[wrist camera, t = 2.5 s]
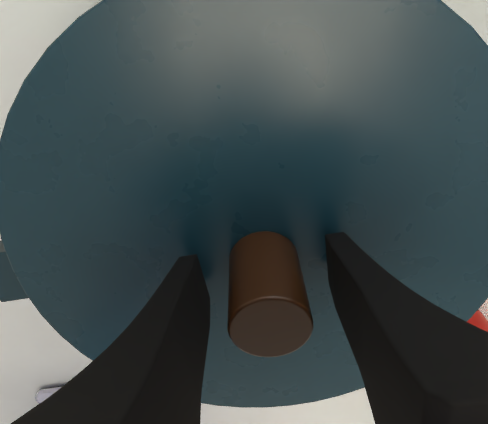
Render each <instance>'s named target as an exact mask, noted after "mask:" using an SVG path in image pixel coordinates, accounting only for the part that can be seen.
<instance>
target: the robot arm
mask: <svg viewBox="0 0 488 424" xmlns="http://www.w3.org/2000/svg"><path fill="white" fill-rule="evenodd" d="M325 244H326V257H327V270H328V282H329V286H330V290H331V294H332V298H333V301H334V305H335V309H336V311H337V314H338V316H339V319H340V321H341V324H342V327H343V329H344V332H345V334H346V337H347V339H348V342H349V344H350V347H351V349H352V352H353V355H354V357H355V360H356V362H357V365H358V367H359V370H360V373H361V376H362V379H363V382H364V385H365V389H366V392H367V396H368V399H369V403H370V406H371V410H372V413H373V417H374V420H375V424H488V332H487V331H485V330H482V329H480V328H478V327H476V326H474V325H472V324H470V323H468V322H466V321H464V320H462V319H460V318H458V317H456V316H455V315H453V314H451V313H449V312H447V311H445V310H443V309H442V308H440V307H438V306H436V305H435V304H433V303H431V302H430V301H428V300H426V299H425V298H423V297H422V296H420V295H419V294H417V293H416V292H414V291H413V290H411V289H410V288H408V287H407V286H406V285H404V284H403V283H402V282H400V281H399V280H398V279H396V278H395V277H394V276H392V275H391V274H390V273H389V272H387V271H386V270H385V269H384V268H383V267H381V266H380V265H379V264H378V263H377V262H375V261H374V260H373V259H372V258H371V257H370V256H369V255H368V254H366V253H365V252H364V251H363V250H362V249H361V248H360V247H359V246H358V245H357V244H356V243H355V242H354V241H353V240H352V239H351V238H350V237H349V236H348V235H347V234H346V233H344V232H339V233H332V234H325ZM209 330H210V296H209V292H208V289H207V286H206V282H205V279H204V276H203V272H202V269H201V266H200V262H199V259H198V256H197V254H194V255H187V256H181V257H179V258H178V259H177V261H176V262H175V264H174V265H173V267H172V268H171V270H170V271H169V273H168V274H167V275H166V277H165V278H164V280H163V281H162V283H161V284H160V286H159V287H158V288H157V290H156V291H155V293H154V294H153V295H152V297H151V298H150V299H149V301H148V302H147V303H146V305H145V306H144V307H143V308H142V310H141V311H140V312H139V313H138V315H137V316H136V317H135V318H134V320H133V321H132V322H131V323H130V324H129V326H128V327H127V328H126V329H125V330H124V331H123V332H122V333H121V334H120V335H119V336H118V337H117V338H116V339H115V340H114V342H113V343H112V344H111V345H110V346H109V347H108V348H107V349H105V350H104V351H103V352H102V353H101V354H100V355H99V356H98V357H97V358H96V359H94V360H93V361H92V362H91V363H90V364H89V365H88V366H87V367H86V368H85V369H84V370H82V371H81V372H80V373H79V374H78V375H76V376H75V377H74V378H73V379H71V380H70V381H69V382H68V383H67V384H65V385H64V386H63V387H56V388H48V389H42V390H39V391H38V392H37V394H36V396H35V398H36V400H37V402H38V403H39V405H37V406H36V407H34V408H33V409H31V410H30V411H28V412H27V413H26V414H24V415H23V416H21V417H20V418H18V419H17V420H15V421H14V422H12V423H11V424H200V411H201V393H202V384H203V376H204V369H205V361H206V354H207V346H208V338H209Z"/></svg>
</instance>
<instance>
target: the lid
mask: <svg viewBox="0 0 488 424" xmlns="http://www.w3.org/2000/svg"><path fill="white" fill-rule="evenodd" d="M339 232H344V233H346V234H347V235H348V236H349V237H350V238H351V239H352V240H353V241H354V242H355V243H356V244H357V245H358V246H359V247H360V248H361V249H362V250H363V251H364V252H365V253H366V254H368V255H369V256H370V257H371V258H372V259H373V260H374V261H375V262H377V263H378V264H379V265H380V266H381V267H383V268H384V269H385V270H386V271H387V272H389V273H390V274H391V275H392V276H394V277H395V278H396V279H398V280H399V281H400V282H402V283H403V284H404V285H406V286H407V287H408V288H410V289H411V290H413V291H414V292H416V293H417V294H419V295H420V296H422V297H423V298H425V299H426V300H428V301H430V302H431V303H433V304H435V305H436V306H438V307H440V308H442V309H443V310H445V311H447V312H449V313H451V314H453V315H455V316H456V317H458V318H460V319H462V320H464V321H466V322H467V321H468V320H469V319H470V318H471V317H472V316H473V315H474V314H475V312H476V311H477V310H478V309H479V308H480V307H481V305H482V304H483V303H484V302H485V301H486V299H487V298H488V45H487V44H486V43H485V42H484V41H483V39H482V38H481V37H480V36H479V34H478V33H477V32H476V31H475V30H474V28H473V27H472V26H471V25H469V24H468V23H467V22H466V21H465V20H464V19H462V18H461V17H460V16H459V15H458V14H456V13H455V12H454V11H453V10H452V9H451V8H449V7H448V6H447V5H446V4H445V3H444V2H442V1H441V0H102V1H101V2H99V3H98V4H96V5H95V6H94V7H92V8H91V9H89V10H88V11H87V12H85V13H84V14H82V15H81V16H79V17H78V18H77V19H76V20H75V21H74V22H73V23H72V24H71V25H70V26H69V27H68V28H67V29H66V30H65V31H64V32H63V33H62V34H61V35H60V36H59V37H58V38H57V39H56V40H55V41H54V42H53V43H52V44H51V45H50V46H49V47H48V48H47V49H46V51H45V52H44V53H43V55H42V56H41V58H40V59H39V60H38V62H37V63H36V65H35V66H34V67H33V69H32V70H31V72H30V73H29V74H28V76H27V77H26V78H25V80H24V82H23V84H22V86H21V88H20V90H19V92H18V94H17V96H16V98H15V100H14V102H13V104H12V106H11V109H10V111H9V113H8V115H7V119H6V122H5V126H4V129H3V132H2V136H1V139H0V234H1V239H2V243H3V246H4V248H5V251H6V254H7V256H8V259H9V262H10V264H11V267H12V269H13V271H14V273H15V275H16V277H17V279H18V280H19V282H20V284H21V286H22V288H23V289H24V291H25V293H26V295H27V296H28V297H29V299H30V300H31V301H32V303H33V304H34V306H35V307H36V308H37V310H38V311H39V312H40V314H41V315H42V316H43V317H44V318H45V319H46V320H47V322H48V323H49V324H50V325H51V326H52V327H53V328H54V329H55V330H56V331H57V332H58V333H59V334H60V335H61V336H62V337H63V338H64V339H65V340H67V341H68V342H69V343H70V344H71V345H73V346H74V347H75V348H76V349H77V350H78V351H80V352H81V353H82V354H84V355H85V356H87V357H88V358H90V359H91V360H94V359H96V358H97V357H98V356H99V355H100V354H101V353H102V352H103V351H104V350H105V349H107V348H108V347H109V346H110V345H111V344H112V343H113V342H114V340H115V339H116V338H117V337H118V336H119V335H120V334H121V333H122V332H123V331H124V330H125V329H126V328H127V327H128V326H129V324H130V323H131V322H132V321H133V320H134V318H135V317H136V316H137V315H138V313H139V312H140V311H141V310H142V308H143V307H144V306H145V305H146V303H147V302H148V301H149V299H150V298H151V297H152V295H153V294H154V293H155V291H156V290H157V288H158V287H159V286H160V284H161V283H162V281H163V280H164V278H165V277H166V275H167V274H168V273H169V271H170V270H171V268H172V267H173V265H174V264H175V262H176V261H177V259H178V258H179V257H181V256H187V255H194V254H197V256H198V259H199V262H200V266H201V269H202V272H203V276H204V279H205V282H206V286H207V289H208V292H209V296H210V330H209V338H208V346H207V354H206V361H205V369H204V376H203V384H202V393H201V403H205V404H212V405H218V406H231V407H276V406H288V405H296V404H302V403H309V402H315V401H319V400H323V399H328V398H332V397H336V396H340V395H343V394H346V393H349V392H352V391H355V390H358V389H361V388H364V387H365V385H364V382H363V379H362V376H361V373H360V370H359V367H358V365H357V362H356V360H355V357H354V355H353V352H352V349H351V347H350V344H349V342H348V339H347V337H346V334H345V332H344V329H343V327H342V324H341V321H340V319H339V316H338V314H337V311H336V309H335V305H334V301H333V298H332V294H331V290H330V286H329V282H328V270H327V257H326V244H325V234H332V233H339Z"/></svg>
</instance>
